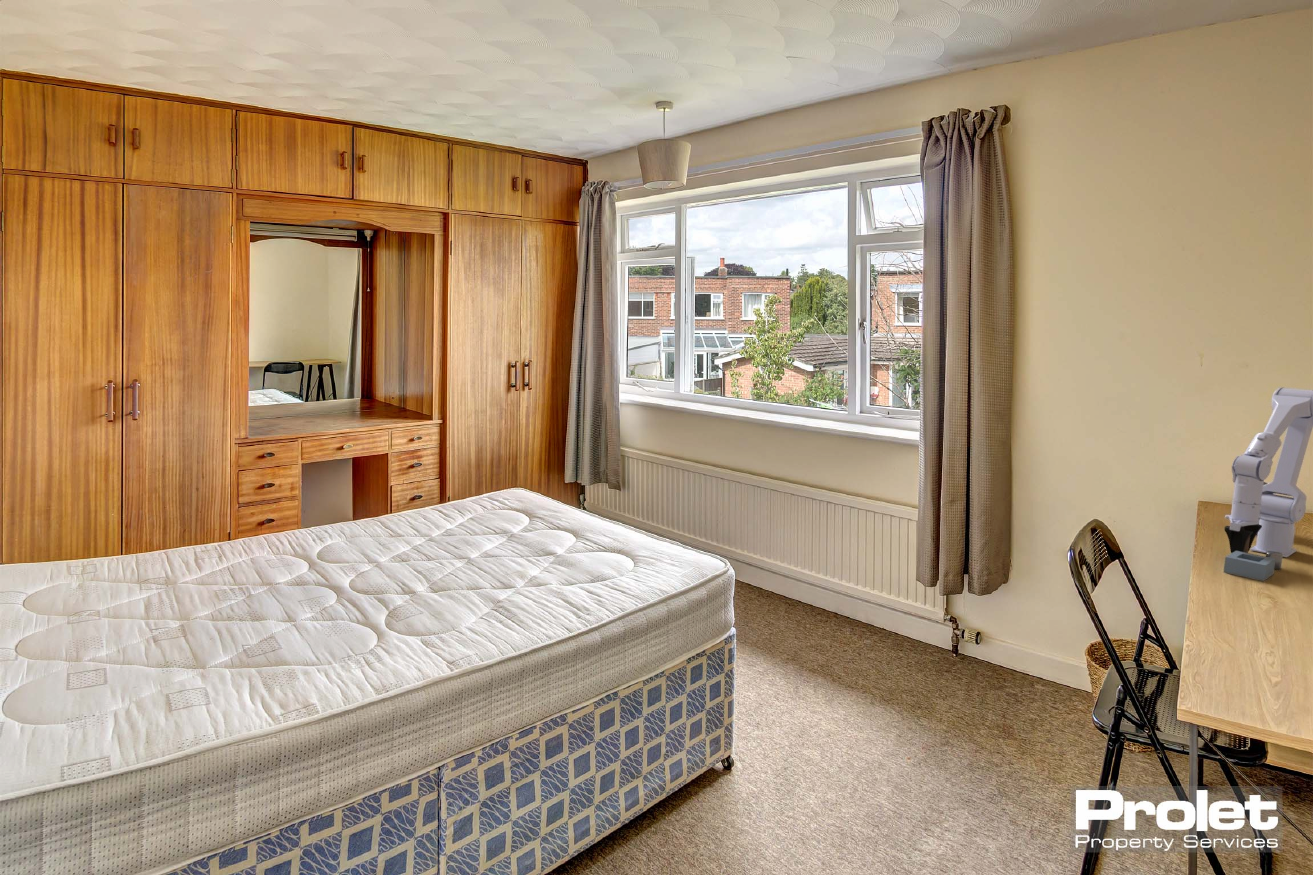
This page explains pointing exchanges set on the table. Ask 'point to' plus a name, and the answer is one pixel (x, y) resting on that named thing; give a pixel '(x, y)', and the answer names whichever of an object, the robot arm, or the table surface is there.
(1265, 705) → the table surface
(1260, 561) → the hole block
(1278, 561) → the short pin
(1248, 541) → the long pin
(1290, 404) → the robot arm
